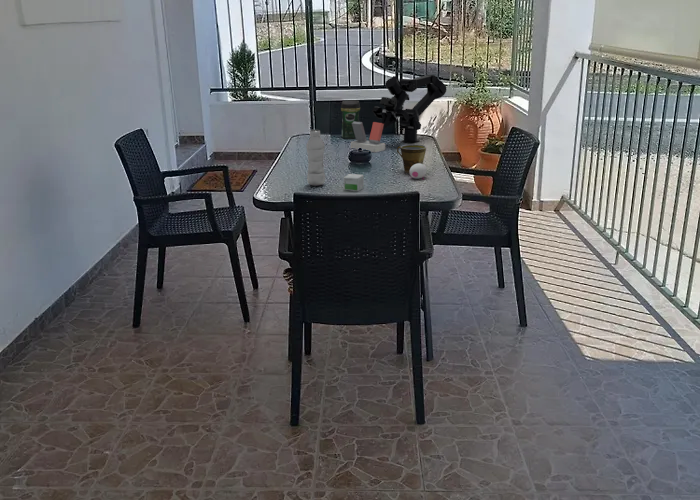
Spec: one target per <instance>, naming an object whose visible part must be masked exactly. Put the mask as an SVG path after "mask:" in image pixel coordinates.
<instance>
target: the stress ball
mask: <svg viewBox="0 0 700 500" xmlns="http://www.w3.org/2000/svg"><path fill="white" fill-rule="evenodd" d="M427 171H428V168H427V166H426V165H425V164H424V163H423V164H421V163H418V164H414V165H413V166H412V167H411V168H410V171H409V173H410V174H409V177H411V178H412V179H417V180H418V179H422V180H425V178H424V177H425V176H426V175H427Z"/></svg>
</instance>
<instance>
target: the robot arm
mask: <svg viewBox="0 0 700 500" xmlns="http://www.w3.org/2000/svg"><path fill="white" fill-rule="evenodd" d="M384 86H385V88H386V89H387V91H388V92H389V94H390V95H391V97H385V96H381V99H380V102H379V105H382V106H383V108H382V107H381V106H373V108H372V109H371V113H372V114H373V115H374V117H376V118H377V119H380V120H381V123H383V124H384V126H383V130H384V129H387V128H388V127H389V126H391V125H393V124H395V123H397V122H398V121H399V125H400V129H401V130H403V140H401V143H409V144H414V143H417V142H418V143H419V142H420V139H418V131H419V130H421V128H422V124H421V122H420V116H421V115H422V114H423V113H424V112H425V111H426V109H427V108H429V106H430V105H431V104H432V103H433V102H434V101H435V100H437V99H440V98H442V97H444V96H445V95H446V92H447V86H446V85H445V84H444V82H443V81H442V80H441V79H439V78H438V77H437V75H434V74H425V75H422V76H418V77H416V78H400V80H399V78H398V76H397V75H392V77H389V78H388V79H387V80H386V81H385V82H384ZM423 86H426V87H425V88H426V94H425V95H423V97H422V98H421V99H420V100H419V101H418V102H417V103H416V104H415V105H414V106H413V107H412V108H405V109H404V106H403V105H404V104H405V103H406V102H405V101H410V95H409V94H408V93H413V92H415V91H417V88H421V87H423Z"/></svg>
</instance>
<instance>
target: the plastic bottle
mask: <svg viewBox="0 0 700 500" xmlns="http://www.w3.org/2000/svg"><path fill="white" fill-rule="evenodd" d="M309 137H310V138H308V140H307V143H306V152H307V160H308V164H307V165H308V167H307V176H306V179H307V183H308V185H309V186H315V187H318V186H322V185H324V184H325V182H326V175H325V174H326V173H325V167H324V157H325V154H324V153H325V142H324V141H323V139H322V138H321V130H320V129H310V130H309Z"/></svg>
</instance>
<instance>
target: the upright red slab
mask: <svg viewBox="0 0 700 500" xmlns="http://www.w3.org/2000/svg"><path fill="white" fill-rule="evenodd" d="M383 126H384V124H383V123H382V122H377V121H373V122H372V126H371V131H370V133H369V138H368V141H369V142H370V143H376V144H379V143H381V139H382V134H383V130H384V129H383Z"/></svg>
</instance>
